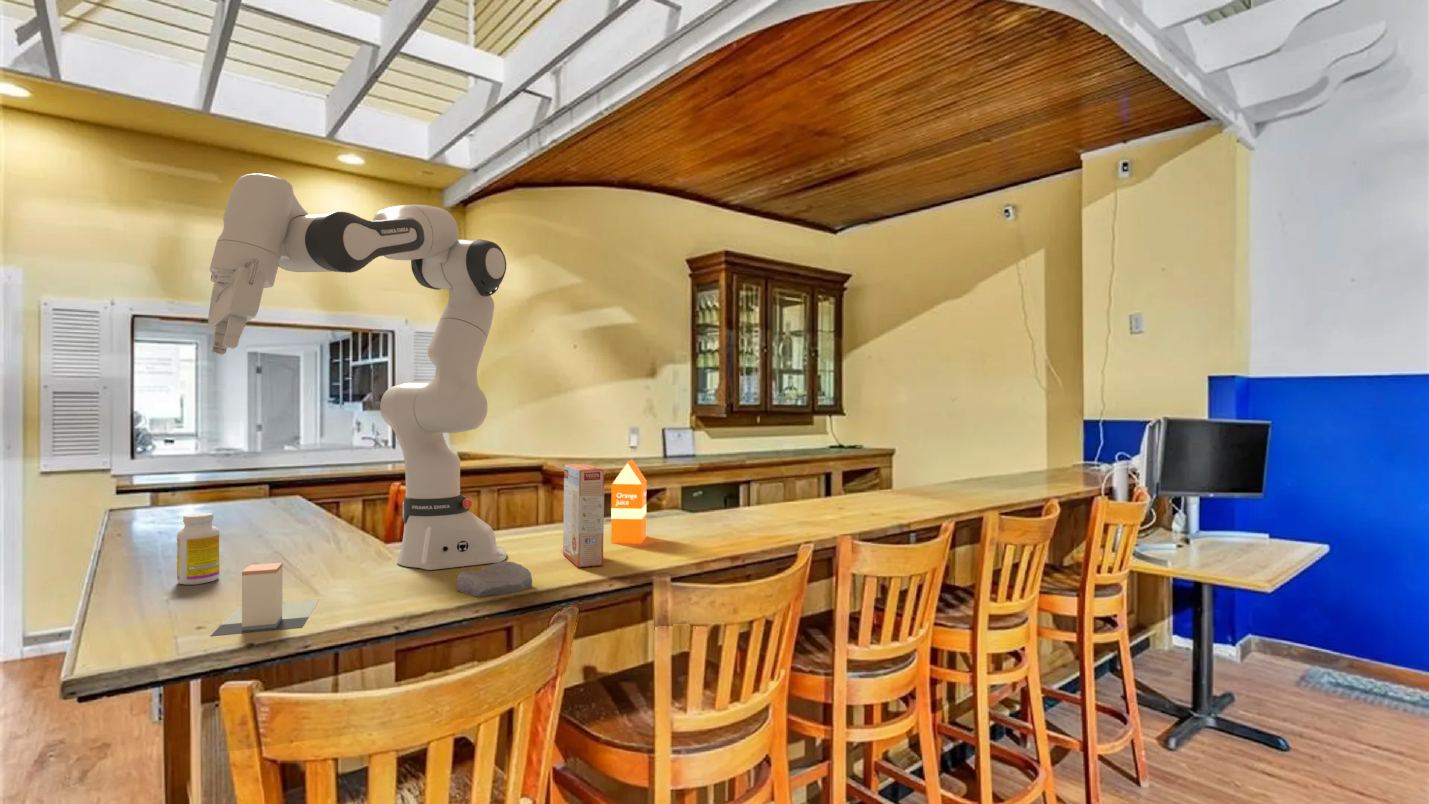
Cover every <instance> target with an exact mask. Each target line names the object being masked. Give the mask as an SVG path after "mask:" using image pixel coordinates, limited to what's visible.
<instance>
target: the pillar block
mask: <svg viewBox="0 0 1429 804" xmlns="http://www.w3.org/2000/svg"><path fill="white" fill-rule="evenodd" d="M282 602H283V562H276V563H275V562H274V563H261V564H260V563H257V564H248V566H247V567H246V568H244V569H243V570H242V571H241V606H242V631H245V630H256V629H266V628H276V627H277V626H278V624H279V623H280V621H281V620H282Z"/></svg>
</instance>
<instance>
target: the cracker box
mask: <svg viewBox="0 0 1429 804" xmlns="http://www.w3.org/2000/svg"><path fill="white" fill-rule="evenodd" d="M605 470H606V469H604V468H601V467H597V466H595V465H591V464H588V463H568V464H566V463H565V464H564V467H563V471H564V472H563V530H562V531H563V535H562V540H563V541H562V543H563V544H562V546H563V547H562V555H563V556H566V557H565V558H567V560H569V562H571V563H572V564H573V565H574V566H576V567H577V568H591V567H590V566H592V567H602V566H603V565H604V535H605V533H604V525H605V521H604V520H605V474H606V473H605Z"/></svg>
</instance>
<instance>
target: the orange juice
mask: <svg viewBox="0 0 1429 804" xmlns="http://www.w3.org/2000/svg"><path fill="white" fill-rule="evenodd" d="M647 481H648V480H647V479H646V478H645V476H644V475H643V473H642V472H641V470H640V468H639V467H638V465H637V464H636V462H635V461H634V460H633V458H631V459H629V460H628V461H627V462H626V463H625V465H624V466H623V468H622V469H621V470H620V472H619V474H618V475H617V476H616V478H615V479H614V480H613V482H612V483H611V502H610V503H611V505H610V507H611V508H610V511H611V515H610V518H611V521H610V524H611V526H610V528H611V529H610V530H611V531H610V533H611V534H610V537H611V538H610V539H611V540H610V543H611V544H642V543H643V541H644V540H645V538H646V537H647Z"/></svg>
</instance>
